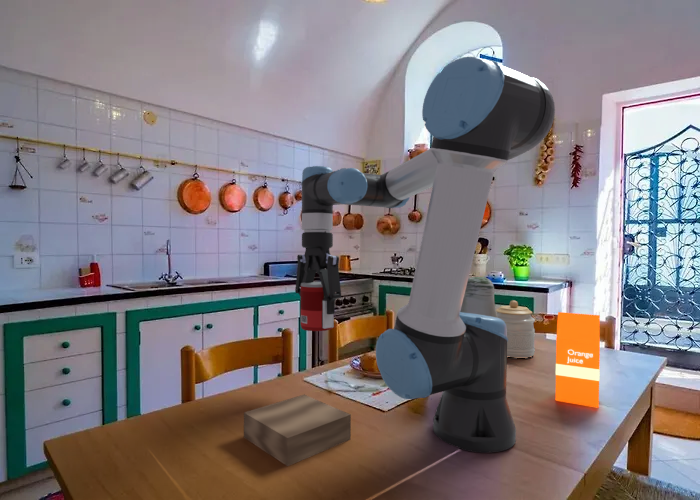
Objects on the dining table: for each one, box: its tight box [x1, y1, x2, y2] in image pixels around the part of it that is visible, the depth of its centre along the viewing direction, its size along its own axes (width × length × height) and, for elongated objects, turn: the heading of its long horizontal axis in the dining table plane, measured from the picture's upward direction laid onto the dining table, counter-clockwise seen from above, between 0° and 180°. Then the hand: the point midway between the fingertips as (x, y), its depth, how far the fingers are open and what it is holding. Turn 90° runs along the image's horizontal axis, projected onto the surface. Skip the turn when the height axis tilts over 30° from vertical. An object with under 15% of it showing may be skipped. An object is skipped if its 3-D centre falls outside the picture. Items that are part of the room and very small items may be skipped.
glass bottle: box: [460, 276, 498, 318], centre depth 105 cm, size 10×10×28 cm
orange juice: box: [554, 311, 601, 409], centre depth 100 cm, size 8×9×20 cm
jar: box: [495, 300, 536, 357], centre depth 140 cm, size 13×13×18 cm
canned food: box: [300, 281, 333, 332], centre depth 104 cm, size 8×8×11 cm
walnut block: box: [243, 393, 352, 467], centre depth 79 cm, size 14×14×5 cm
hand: (317, 324), depth 104 cm, fingers closed on canned food, 8 cm apart
